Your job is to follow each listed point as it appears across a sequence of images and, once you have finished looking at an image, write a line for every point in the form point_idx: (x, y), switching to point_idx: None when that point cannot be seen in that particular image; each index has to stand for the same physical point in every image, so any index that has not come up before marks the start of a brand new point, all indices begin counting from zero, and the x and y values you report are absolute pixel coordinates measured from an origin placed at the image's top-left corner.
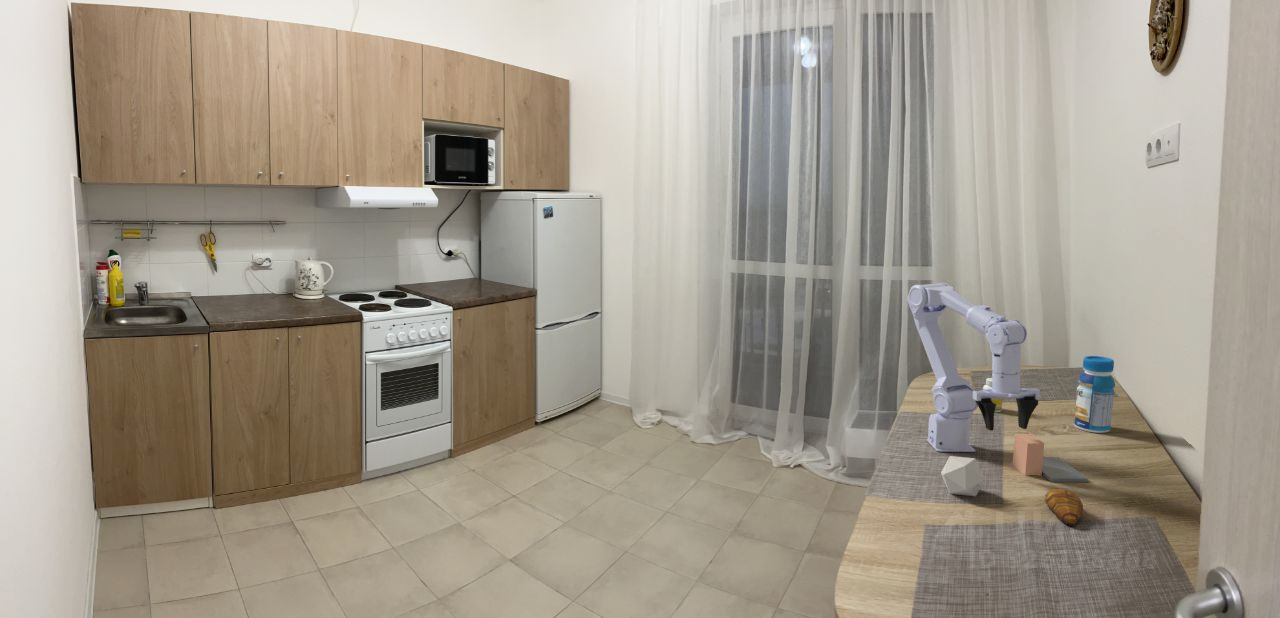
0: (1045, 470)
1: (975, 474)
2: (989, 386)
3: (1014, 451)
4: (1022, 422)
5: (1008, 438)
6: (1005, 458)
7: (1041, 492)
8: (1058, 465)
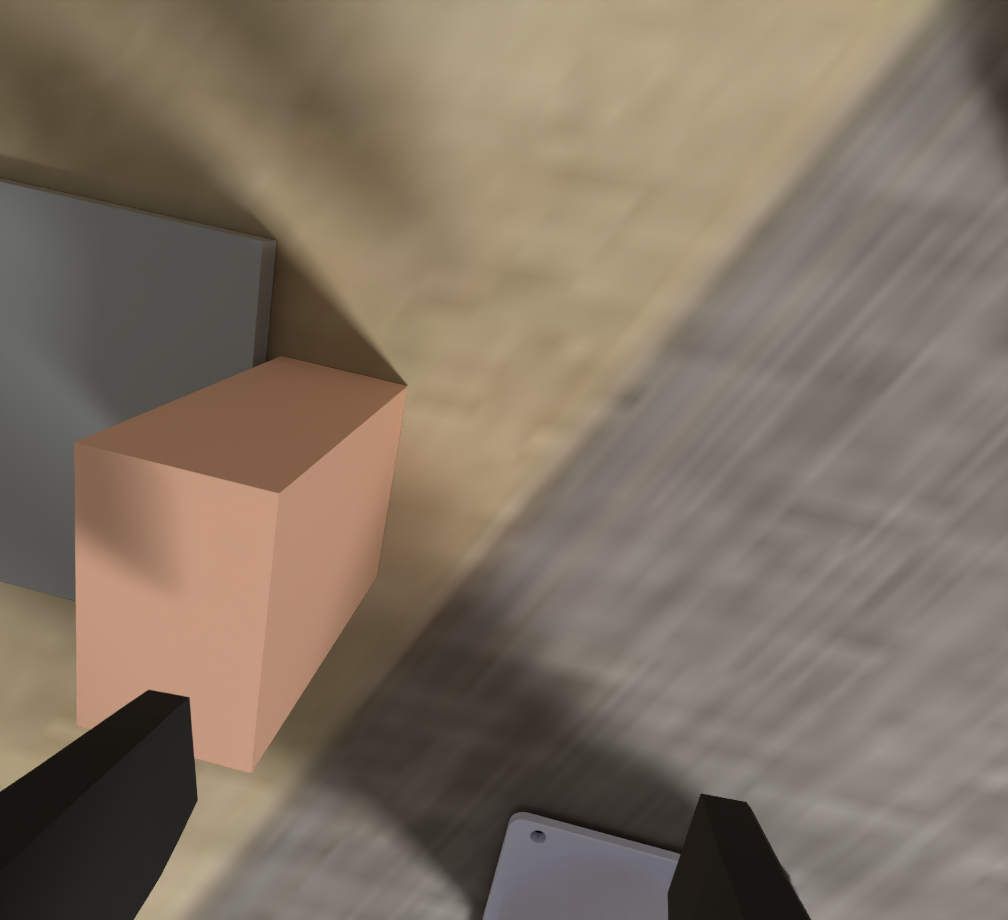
0: None
1: None
2: None
3: (336, 631)
4: (126, 817)
5: (149, 910)
6: (360, 677)
7: (491, 39)
8: (64, 451)
